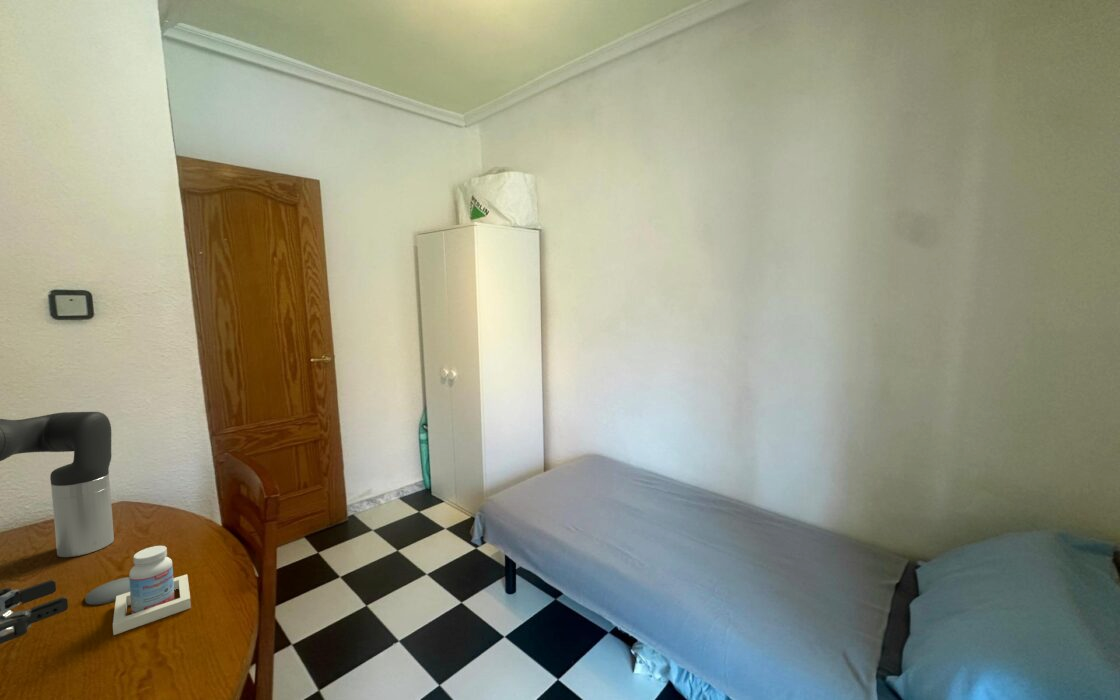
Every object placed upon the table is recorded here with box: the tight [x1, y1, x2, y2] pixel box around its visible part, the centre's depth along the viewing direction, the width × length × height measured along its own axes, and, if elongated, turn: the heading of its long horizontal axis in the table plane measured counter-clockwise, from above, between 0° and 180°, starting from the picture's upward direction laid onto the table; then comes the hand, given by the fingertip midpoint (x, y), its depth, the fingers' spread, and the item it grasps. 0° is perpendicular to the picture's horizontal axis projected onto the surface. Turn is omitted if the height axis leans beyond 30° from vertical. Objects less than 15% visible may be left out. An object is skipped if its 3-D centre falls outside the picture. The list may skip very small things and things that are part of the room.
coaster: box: [84, 576, 130, 606], centre depth 87 cm, size 8×8×1 cm
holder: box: [112, 573, 192, 636], centre depth 82 cm, size 10×10×2 cm
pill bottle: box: [128, 545, 175, 614], centre depth 82 cm, size 6×6×11 cm
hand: (60, 593), depth 72 cm, fingers open, 8 cm apart
